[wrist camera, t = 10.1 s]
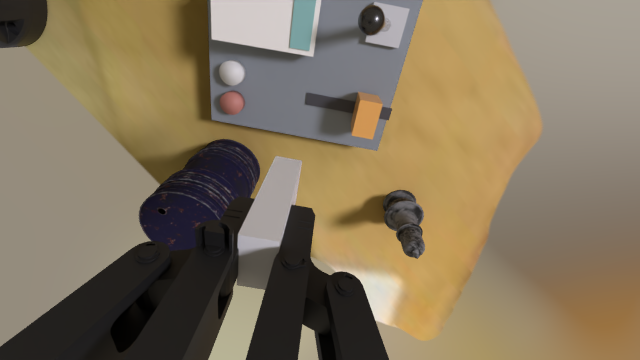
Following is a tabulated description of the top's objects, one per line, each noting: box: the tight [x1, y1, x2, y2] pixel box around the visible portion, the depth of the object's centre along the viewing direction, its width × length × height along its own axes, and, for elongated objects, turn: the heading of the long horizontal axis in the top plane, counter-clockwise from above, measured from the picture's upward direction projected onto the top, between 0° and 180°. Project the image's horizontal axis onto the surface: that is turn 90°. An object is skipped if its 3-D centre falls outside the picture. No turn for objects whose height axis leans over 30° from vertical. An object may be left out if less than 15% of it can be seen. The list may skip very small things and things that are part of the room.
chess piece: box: [383, 190, 425, 259], centre depth 39 cm, size 6×6×12 cm
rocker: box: [211, 0, 321, 57], centre depth 26 cm, size 10×6×2 cm, turn 80°
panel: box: [207, 0, 423, 151], centre depth 32 cm, size 22×18×6 cm
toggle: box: [358, 5, 391, 36], centre depth 24 cm, size 2×2×7 cm
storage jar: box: [139, 139, 260, 251], centre depth 37 cm, size 10×10×15 cm
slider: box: [351, 92, 383, 140], centre depth 31 cm, size 2×4×4 cm, turn 170°
